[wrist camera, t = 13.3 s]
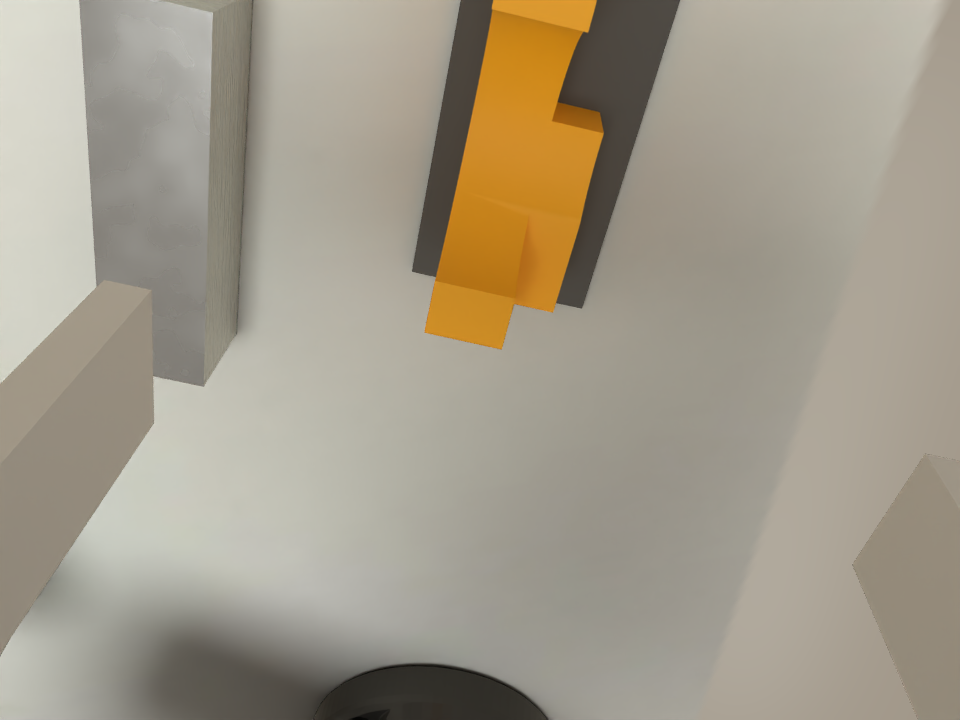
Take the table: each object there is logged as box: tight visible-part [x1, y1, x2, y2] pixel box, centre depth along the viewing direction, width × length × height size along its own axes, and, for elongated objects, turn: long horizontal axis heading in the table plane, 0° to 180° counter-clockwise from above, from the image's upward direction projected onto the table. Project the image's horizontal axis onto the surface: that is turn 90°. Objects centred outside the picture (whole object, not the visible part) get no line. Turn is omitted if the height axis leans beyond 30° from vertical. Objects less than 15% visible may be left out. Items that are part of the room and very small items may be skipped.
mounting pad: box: [412, 0, 680, 308], centre depth 29 cm, size 14×7×1 cm, turn 168°
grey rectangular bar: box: [79, 0, 253, 387], centre depth 30 cm, size 14×4×4 cm, turn 168°
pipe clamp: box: [424, 0, 604, 349], centre depth 26 cm, size 12×4×6 cm, turn 168°
